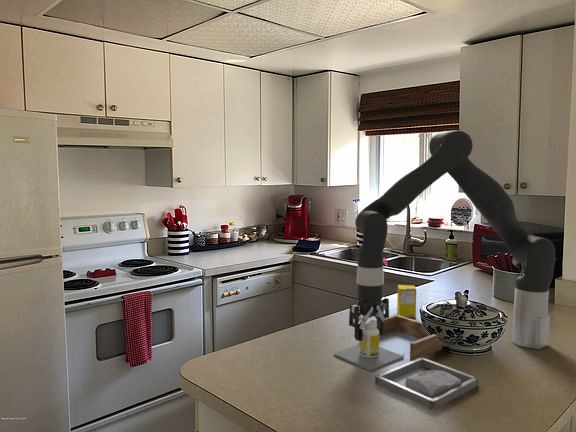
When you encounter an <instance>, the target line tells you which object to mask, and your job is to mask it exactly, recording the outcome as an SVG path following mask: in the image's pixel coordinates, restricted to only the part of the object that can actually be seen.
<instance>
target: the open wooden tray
mask: <svg viewBox="0 0 576 432" xmlns="http://www.w3.org/2000/svg"><path fill="white" fill-rule="evenodd" d="M362 328H363V327H362ZM396 331H397V332H399V333H402V334H405V335H408V336H411V337H414V338H417V340H415V341H412V342H411V341H410V343H409V361H410V362H411V361H413V360H415V359H418V358H420V357H422V358H425V357H427V356H429V355H432V354H434V353H437V352H439V351H441V350H443V349H442V341H441V340H440V339H439V338H438V337H437V335H435V334H432V335H431V334H429V333H428V332H427V331H426V329H425V328H424V326H423V324H422V321H419V320H416V319H410V318H406V317H403V316H400V315H398V314H397V313H396V314H393V315H389V318H386V319H385V321H384V322H383V334H381V335H380V334H379V337H381V336H385V335H388V334H391V333H394V332H396Z"/></svg>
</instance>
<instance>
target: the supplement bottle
mask: <svg viewBox="0 0 576 432" xmlns="http://www.w3.org/2000/svg"><path fill="white" fill-rule="evenodd" d="M376 327H377V321H376V319H370V318H368V320H367V322H365V323H364V325H363V340H362V341H359V345H360V354H361V355H362V356H363V357H367V358H374V357H377V356H378V355H379V347H380V336H379V330H378V329H377V328H376Z"/></svg>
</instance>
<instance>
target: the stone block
mask: <svg viewBox="0 0 576 432" xmlns="http://www.w3.org/2000/svg"><path fill="white" fill-rule="evenodd" d="M462 383H463V382H461V380H460V379H458V378H456V377H455V376H453V375H451V374H449V373H447V372H445V371H438V370H430V369H427V370H426V371H423V372H420V373H418V374H416V376H415V375H413V376H410V377H406V378H405V382H404V385H405V387H406V388H409V389H411V390H413V391H415V392H418V393H420V394H422V395H425V396H427V397H429V398H431V399H433V398H435V397H437V396H439V395H441V394H442V393H444V392H446V391H448V390H450V389H452V388H454V387H456V386H458V385H460V384H462Z"/></svg>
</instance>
